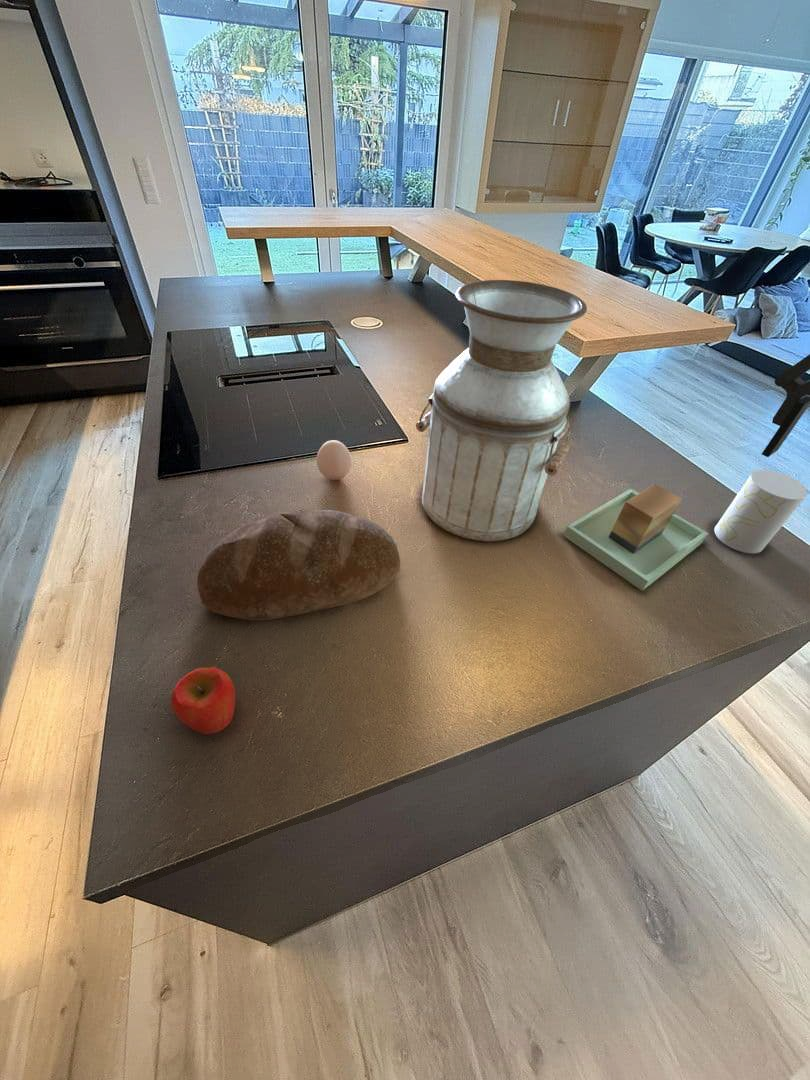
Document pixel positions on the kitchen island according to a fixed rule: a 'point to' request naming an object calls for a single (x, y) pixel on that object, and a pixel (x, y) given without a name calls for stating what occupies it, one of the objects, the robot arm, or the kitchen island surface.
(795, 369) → the robot arm
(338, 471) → the egg
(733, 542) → the white cylinder
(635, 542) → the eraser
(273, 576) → the bread
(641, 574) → the tray
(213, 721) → the apple
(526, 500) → the white milk churn
